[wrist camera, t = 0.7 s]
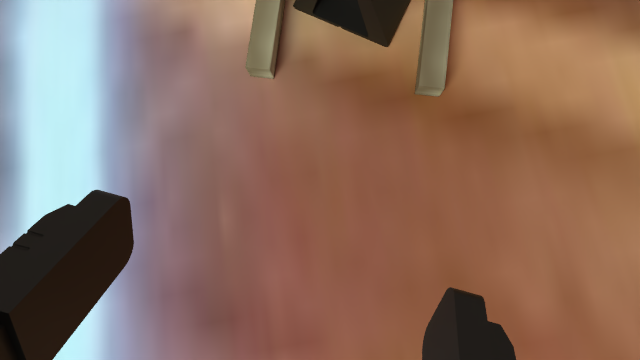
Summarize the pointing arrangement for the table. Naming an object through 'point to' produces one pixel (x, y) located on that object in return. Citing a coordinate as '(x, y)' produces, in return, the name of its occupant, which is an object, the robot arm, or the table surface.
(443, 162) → the table surface
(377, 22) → the phone stand
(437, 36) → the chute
